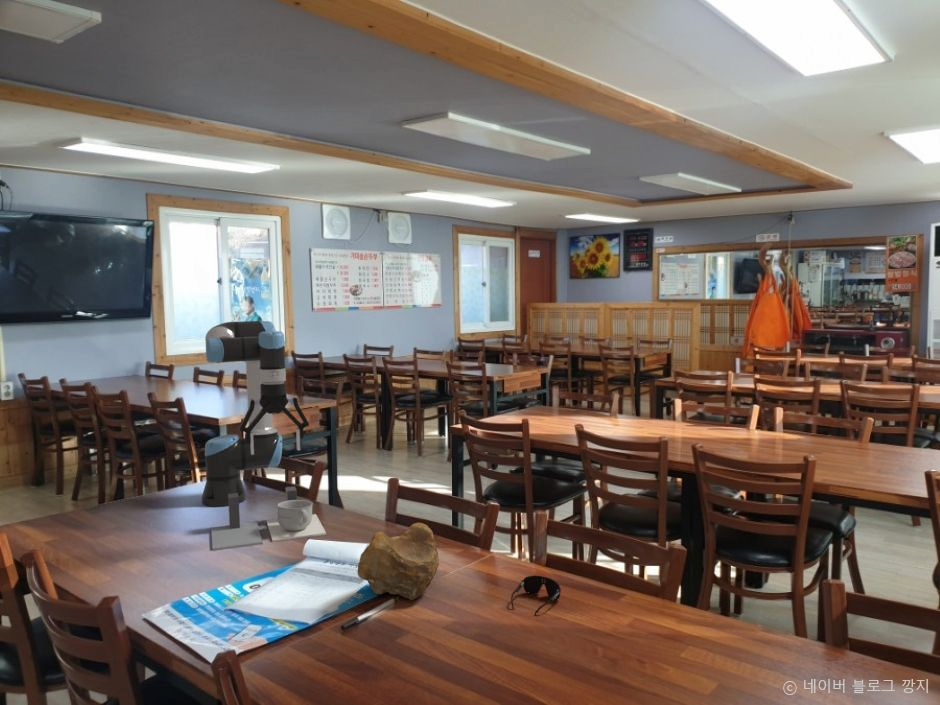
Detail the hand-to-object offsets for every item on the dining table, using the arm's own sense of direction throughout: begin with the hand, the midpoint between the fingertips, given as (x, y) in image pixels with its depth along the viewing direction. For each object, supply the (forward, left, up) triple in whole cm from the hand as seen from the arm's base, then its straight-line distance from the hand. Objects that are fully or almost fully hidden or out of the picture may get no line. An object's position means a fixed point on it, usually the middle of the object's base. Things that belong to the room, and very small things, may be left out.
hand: (275, 451), depth 214 cm
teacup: (-2, +6, -26) cm, 27 cm away
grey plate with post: (-5, +6, -26) cm, 27 cm away
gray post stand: (-5, -12, -26) cm, 29 cm away
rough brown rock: (+53, +26, -27) cm, 65 cm away
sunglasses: (+72, +52, -27) cm, 93 cm away
